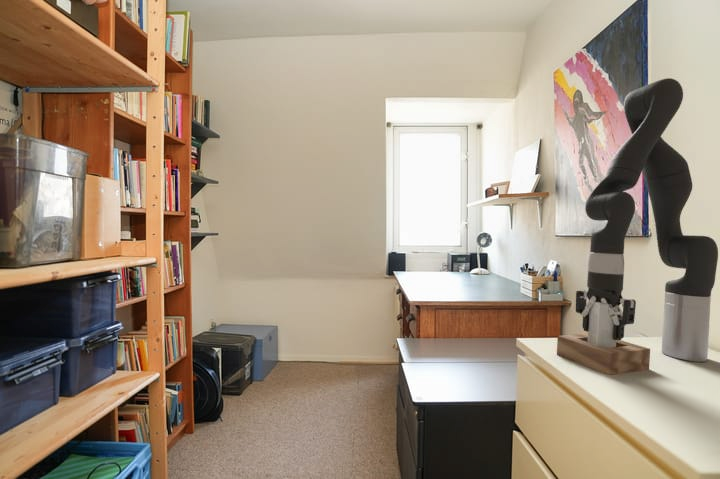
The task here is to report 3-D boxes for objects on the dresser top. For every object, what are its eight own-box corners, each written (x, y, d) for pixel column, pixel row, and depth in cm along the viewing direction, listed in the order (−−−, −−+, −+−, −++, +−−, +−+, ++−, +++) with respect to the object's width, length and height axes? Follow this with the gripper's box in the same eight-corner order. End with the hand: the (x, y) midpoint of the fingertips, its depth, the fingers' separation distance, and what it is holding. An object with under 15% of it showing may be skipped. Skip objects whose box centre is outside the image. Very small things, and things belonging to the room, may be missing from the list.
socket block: (594, 350, 99) (594, 332, 99) (649, 369, 86) (650, 348, 86) (556, 354, 95) (557, 335, 94) (609, 374, 81) (610, 353, 81)
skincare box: (616, 353, 87) (619, 305, 87) (597, 351, 88) (599, 303, 87) (604, 345, 93) (607, 300, 93) (586, 344, 94) (589, 299, 93)
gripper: (646, 274, 84) (642, 343, 85) (589, 268, 98) (586, 327, 98) (624, 274, 82) (620, 345, 82) (569, 267, 95) (566, 328, 96)
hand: (601, 335), depth 90 cm, fingers closed on skincare box, 7 cm apart
